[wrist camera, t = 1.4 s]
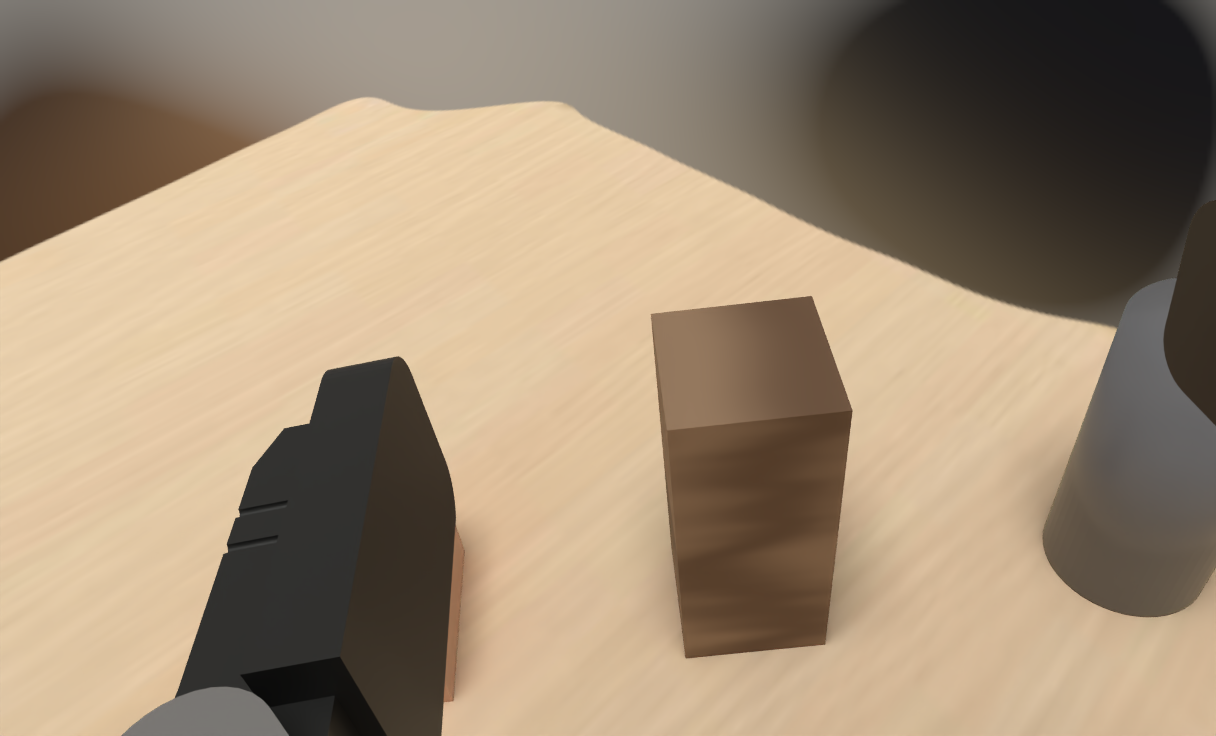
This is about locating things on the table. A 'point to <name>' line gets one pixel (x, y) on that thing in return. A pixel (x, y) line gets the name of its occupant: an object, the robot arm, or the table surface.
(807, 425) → the walnut column
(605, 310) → the table surface
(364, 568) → the robot arm
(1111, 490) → the charcoal cylinder
